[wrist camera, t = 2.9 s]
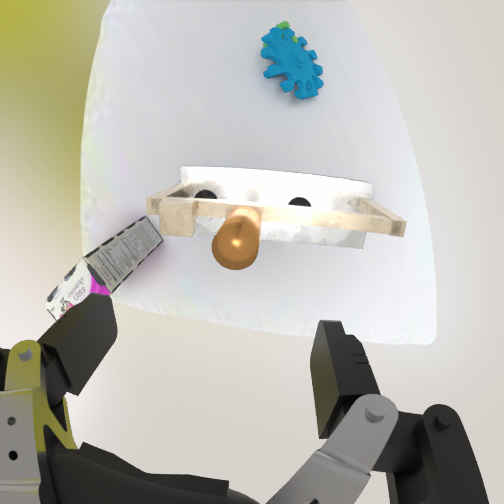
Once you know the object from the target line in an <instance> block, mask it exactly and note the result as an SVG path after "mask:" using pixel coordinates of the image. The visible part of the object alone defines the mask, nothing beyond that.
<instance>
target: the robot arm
mask: <svg viewBox="0 0 504 504" xmlns="http://www.w3.org/2000/svg"><path fill="white" fill-rule="evenodd" d="M116 338H117V324H116V319H115V314H114V310H113V305H112V300H111V298H110V296H109V295H104V294H99V293H94V292H92V293H90V294H89V295H88V296H87V297H86V298H85V299H84V300H83V301H82V302H80V303H78V304H76V305H74V306H72V307H71V308H70V309H68V310H67V311H66V312H65V313H64V314H63V316H61V317H60V318H59V319H58V320H57V322H55V323H54V324H53V325H52V326H51V327H50V328H49V329H48V330H47V331H46V332H45V333H44V334H43V335H42V336H41V338H39V340H37V342H36V341H34V340H24V341H21V342H19V343H17V344H16V345H14V346H13V347H12V349H11V350H10V349H2V348H0V504H260V503H258V502H257V501H255V500H254V499H252V498H250V497H248V496H246V495H244V494H242V493H240V492H237V491H234V490H231V489H229V481H227V480H219V479H212V478H205V477H200V476H194V475H188V474H185V475H183V474H182V475H181V474H150V473H146V472H143V471H141V470H140V469H138V468H136V467H134V466H133V465H131V464H129V463H128V462H126V461H124V460H123V459H121V458H119V457H118V456H116V455H115V454H113V453H110V452H107V451H105V450H102V449H100V448H97V447H94V446H92V445H90V444H88V443H85V442H83V443H82V445H81V447H80V449H78V448H77V446H76V444H75V442H74V439H73V436H72V430H71V425H70V420H69V414H68V407H67V401H66V398H65V397H64V395H65V394H66V392H69V393H72V394H74V395H77V396H78V395H79V394H80V392H81V391H82V389H83V387H84V386H85V385H86V383H87V381H88V380H89V379H90V377H91V376H92V374H93V373H94V371H95V370H96V368H97V367H98V365H99V364H100V362H101V361H102V359H103V358H104V356H105V355H106V354H107V352H108V351H109V349H110V348H111V346H112V345H113V344H114V342H115V340H116ZM310 370H311V377H312V385H313V392H314V400H315V408H316V416H317V425H318V434H319V439H328V440H327V441H326V442H325V443H324V445H323V446H322V447H321V448H320V449H318V450H316V451H315V452H314V453H313V455H312V456H311V457H310V458H309V459H308V460H307V461H306V462H305V464H304V465H303V466H302V467H301V468H300V469H299V470H298V471H297V473H296V474H295V475H294V476H293V477H292V478H291V479H290V480H289V481H288V482H287V483H286V484H285V485H284V486H283V487H282V488H281V489H280V490H279V491H278V492H277V493H276V494H275V495H274V496H273V497H272V498H271V499H270V500H269V501H268V502H267V503H266V504H354V503H355V501H356V500H357V498H358V497H359V495H360V494H361V492H362V491H363V489H364V488H365V486H366V484H367V483H368V481H369V479H370V477H371V475H370V472H371V470H372V471H380V472H386V477H387V483H388V490H389V498H390V504H489V501H488V498H487V494H486V490H485V487H484V483H483V480H482V477H481V473H480V471H479V467H478V465H477V461H476V458H475V456H474V453H473V450H472V447H471V445H470V442H469V440H468V437H467V434H466V432H465V429H464V427H463V424H462V422H461V420H460V417H459V416H458V414H457V412H456V411H455V410H453V409H452V408H450V407H449V406H446V405H443V404H435V405H432V406H430V407H429V408H428V409H427V410H426V411H425V412H424V414H423V415H421V414H413V413H406V412H401V411H398V410H397V408H396V406H395V404H394V403H393V402H392V401H391V400H389V399H388V398H386V397H384V396H382V395H381V394H380V391H379V389H378V385H377V383H376V380H375V377H374V374H373V372H372V369H371V366H370V365H369V361H368V359H367V356H366V353H365V351H364V348H363V346H362V343H361V342H360V341H359V340H358V339H357V338H356V337H355V336H354V335H346V334H345V331H344V328H343V326H342V323H341V321H332V320H320V321H319V323H318V327H317V331H316V335H315V340H314V344H313V348H312V352H311V358H310Z"/></svg>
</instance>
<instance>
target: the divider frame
mask: <svg viewBox="0 0 504 504" xmlns="http://www.w3.org/2000/svg"><path fill="white" fill-rule="evenodd" d="M373 185H374V184H372V183H369V182H363V181H357V180H350V179H343V178H336V177H329V176H321V175H313V174H304V173H295V172H285V171H274V170H262V169H248V168H232V167H211V166H181V178H180V184H177V185H175V186H173V187H170V188H168V189H166V190H163V191H161V192H159V193H156V194H154V195H152V196H150V197H148V198H146V203H147V214H150V215H159V218H160V235H171V236H184V237H192V236H193V235H194V234H200V235H213V236H215V235H216V234H217V232H218V231H219V229H220V227H221V226H222V224H223V222H224V221H225V219H226V209H227V203H228V202H242V203H255V204H263V213H262V225H261V237H260V239H261V240H273V241H284V242H295V243H306V244H317V245H328V246H338V247H349V248H359V249H363V245H364V240H365V235H366V232H374V233H382V234H389V235H390V236H398V237H403V236H404V232H405V227H406V222H407V221H405V220H403V219H402V218H400V217H398V216H397V215H395V214H394V213H392V212H390V211H389V210H387V209H385V208H384V207H382V206H380V205H378V204H377V203H375V202H373V201H371V199H372V192H373Z"/></svg>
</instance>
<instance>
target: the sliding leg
mask: <svg viewBox="0 0 504 504" xmlns="http://www.w3.org/2000/svg"><path fill="white" fill-rule="evenodd" d="M262 213H263V204H255V203H242V202H228V203H227V209H226V219H225V221H224V222H223V224H222V226H221V227H220V229H219V231H218V232H217V234H216V235H215V237H214V239H213V242H212V252H213V255H214V257H215V259H216V260H217V262H218V263H219V264H220V265H222V266H223V267H225V268H228V269H231V270H241V269H244V268H247V267H248V266H250V265H251V264H252V263H253V262H254V261H255V259H256V257H257V254H258V248H259V243H260V237H261V225H262Z"/></svg>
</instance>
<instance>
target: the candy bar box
mask: <svg viewBox="0 0 504 504" xmlns="http://www.w3.org/2000/svg"><path fill="white" fill-rule="evenodd" d="M162 242H163V239H162V238H161V236H160V235H159V233H158V232H157V231H156V230H155V229H154V227H153V226H152V225H151V223H150V222H149V220H148V219H147V218H146V216H144V217H142V218H141V219H139V220H138V221H136V222H134V223H133V224H131V225H130V226H128V227H127V228H125V229H124V230H122V231H121V232H119V233H118V234H116V235H115V236H113V237H112V238H110V239H109V240H107V241H106V242H104V243H103V244H101V245H100V246H99V247H97V248H96V249H95V250H93V251H92V252H90V253H89V254H87V255H86V256H85V257H83V258H82V259H81V260H80V261H79V262H78V263H77V264H76V266H74V267H73V268H72V270H71V271H70V272H69V273H68V274H67V275H66V276H65V277H64V279H63V280H62V281H61V282H60V283H59V284H58V286H57V287H56V288H55V289H54V291H53V292H52V293H51V294H50V295H49V297H48V298H47V299H46V301H45V302H44V303H43V305H44V306H45V308H46V309H47V310H48V311H49V313H50V314H51V315H52V316H53V318H54V319H55V320H56V321H57V320H58V319H59V318H60V317H61V316H63V314H64V313H65V312H66V311H67V310H68V309H70V308H71V307H72V306H74V305H76V304H78V303H80V302H82V301H83V300H84V299H85V298H86V297H87V296H88V295H89V294H90V293H92V292H94V293H99V294H104V295H109V296H110V295H111V294H112V293H113V292H114V291H115V290H116V289H117V288H118V287H119V285H120V284H121V283H122V282H123V281H124V280H125V279H126V278H127V277H128V276H129V275H130V274H131V273H132V272H133V271H134V270H135V269H136V268H137V267H138V266H139V265H140V264H141V263H142V261H143V260H144V259H145V258H146V257H147V256H148V255H149V254H150V253H151V252H153V251H154V250H155V249H156V248H157V247H158V246H159V245H160V244H161V243H162Z"/></svg>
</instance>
